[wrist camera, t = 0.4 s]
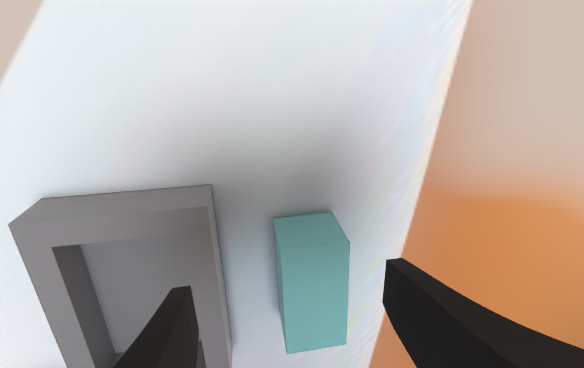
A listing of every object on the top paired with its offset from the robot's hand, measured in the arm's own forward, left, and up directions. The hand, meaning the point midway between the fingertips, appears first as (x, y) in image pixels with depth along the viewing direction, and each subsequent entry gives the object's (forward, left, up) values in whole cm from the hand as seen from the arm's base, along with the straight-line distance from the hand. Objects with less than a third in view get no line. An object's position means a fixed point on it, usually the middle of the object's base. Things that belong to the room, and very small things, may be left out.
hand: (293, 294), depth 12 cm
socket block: (-6, +8, -10) cm, 14 cm away
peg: (-6, -2, -10) cm, 12 cm away
